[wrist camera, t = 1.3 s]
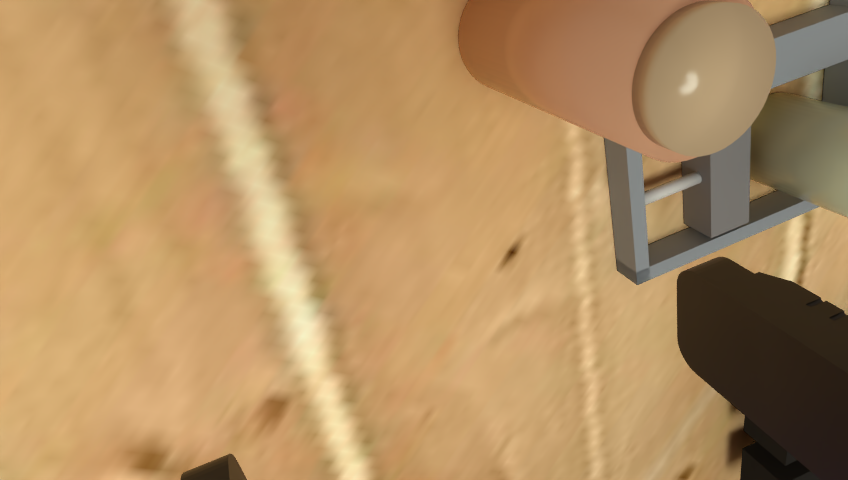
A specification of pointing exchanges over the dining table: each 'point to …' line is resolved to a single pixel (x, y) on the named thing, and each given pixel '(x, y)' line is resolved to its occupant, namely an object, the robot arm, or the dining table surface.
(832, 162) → the green jar
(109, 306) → the dining table surface
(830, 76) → the rack
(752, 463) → the red and black block
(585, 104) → the terracotta jar
